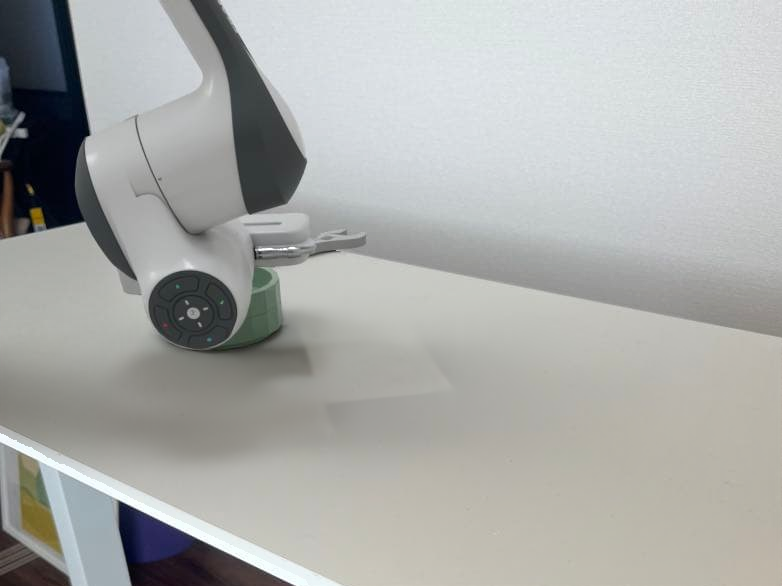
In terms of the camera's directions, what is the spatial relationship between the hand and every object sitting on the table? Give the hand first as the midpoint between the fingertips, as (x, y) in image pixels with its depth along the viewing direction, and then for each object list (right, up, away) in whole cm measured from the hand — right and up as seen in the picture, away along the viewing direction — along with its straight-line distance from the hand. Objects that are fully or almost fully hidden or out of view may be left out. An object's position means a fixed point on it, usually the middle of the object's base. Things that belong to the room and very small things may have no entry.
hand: (217, 221), depth 90 cm
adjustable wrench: (+4, +8, +33) cm, 34 cm away
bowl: (-1, -10, +8) cm, 13 cm away
